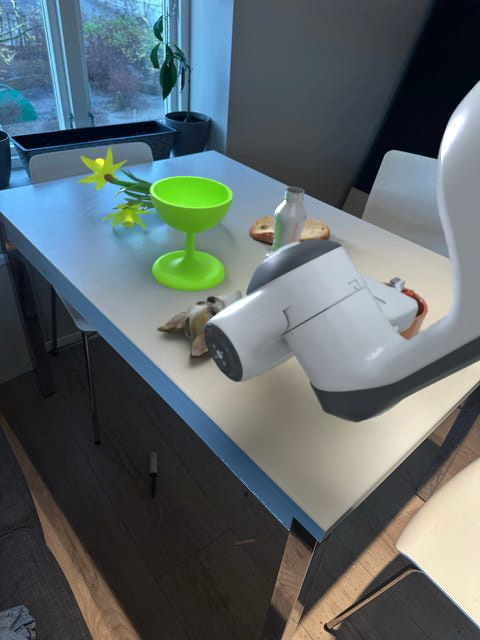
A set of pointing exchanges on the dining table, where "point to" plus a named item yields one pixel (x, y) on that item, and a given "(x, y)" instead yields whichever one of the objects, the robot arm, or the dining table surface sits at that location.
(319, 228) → the bread slice
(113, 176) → the daffodil flowers
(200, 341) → the ceramic sculpture
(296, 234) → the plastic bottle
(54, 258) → the dining table surface
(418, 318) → the terracotta bowl
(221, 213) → the wineglass
